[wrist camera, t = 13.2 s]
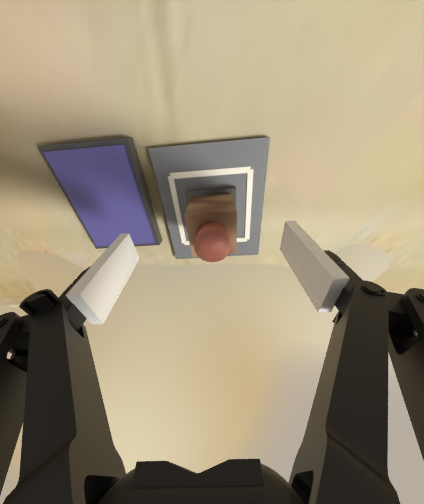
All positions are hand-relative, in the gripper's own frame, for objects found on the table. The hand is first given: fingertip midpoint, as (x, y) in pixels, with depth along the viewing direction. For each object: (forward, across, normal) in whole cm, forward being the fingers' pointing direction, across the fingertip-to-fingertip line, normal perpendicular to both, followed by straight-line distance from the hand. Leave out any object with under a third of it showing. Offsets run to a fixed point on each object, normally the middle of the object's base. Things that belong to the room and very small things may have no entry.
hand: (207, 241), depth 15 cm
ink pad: (+8, -11, +2) cm, 14 cm away
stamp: (+7, +1, 0) cm, 7 cm away
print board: (+8, +1, 0) cm, 8 cm away
